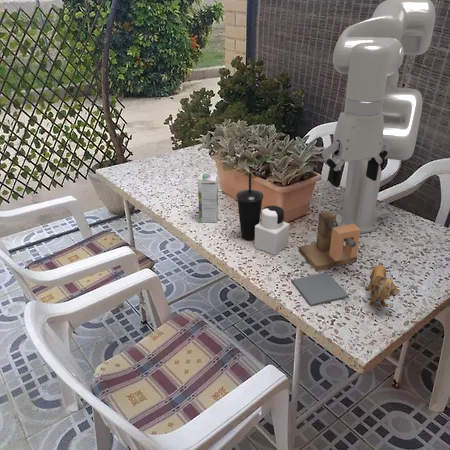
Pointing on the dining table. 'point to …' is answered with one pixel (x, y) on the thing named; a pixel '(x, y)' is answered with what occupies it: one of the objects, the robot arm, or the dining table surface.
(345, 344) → the dining table surface
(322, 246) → the stand
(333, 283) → the slate mat
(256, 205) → the drinking cup
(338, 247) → the c link
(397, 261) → the dining table surface
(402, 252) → the dining table surface
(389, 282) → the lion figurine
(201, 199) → the syrup box
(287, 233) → the medicine bottle
